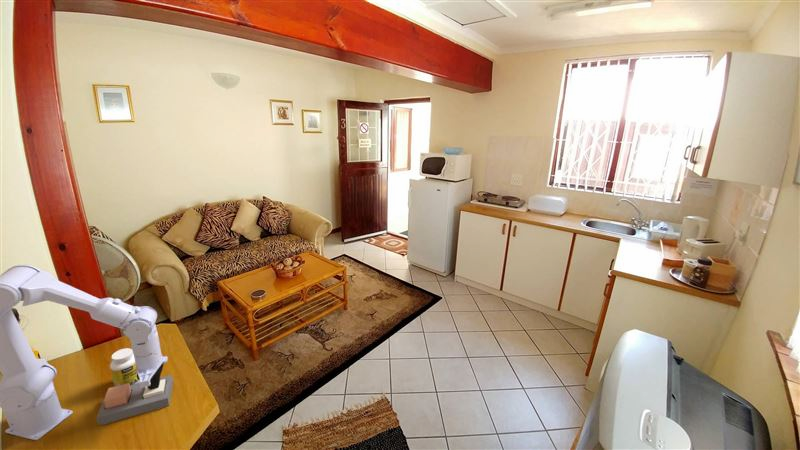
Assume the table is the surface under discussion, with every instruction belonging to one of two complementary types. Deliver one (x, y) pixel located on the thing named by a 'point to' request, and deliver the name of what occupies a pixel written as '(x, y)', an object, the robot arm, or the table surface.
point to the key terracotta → (117, 396)
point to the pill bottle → (123, 367)
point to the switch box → (136, 403)
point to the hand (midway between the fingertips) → (154, 387)
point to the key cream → (155, 390)
